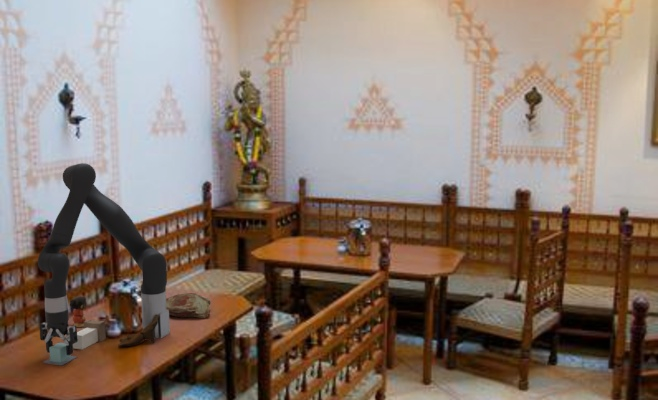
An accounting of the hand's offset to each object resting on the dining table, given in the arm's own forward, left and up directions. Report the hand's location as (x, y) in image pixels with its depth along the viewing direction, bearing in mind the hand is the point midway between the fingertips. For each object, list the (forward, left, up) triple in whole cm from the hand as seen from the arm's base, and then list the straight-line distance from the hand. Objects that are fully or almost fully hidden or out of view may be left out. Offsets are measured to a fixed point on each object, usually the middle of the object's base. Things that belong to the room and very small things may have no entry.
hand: (59, 353), depth 251 cm
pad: (0, 0, -3) cm, 3 cm away
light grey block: (+2, -17, -3) cm, 17 cm away
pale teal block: (0, 0, -2) cm, 2 cm away
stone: (-15, -60, -3) cm, 62 cm away
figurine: (+18, -33, -3) cm, 37 cm away
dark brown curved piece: (-17, -22, -3) cm, 28 cm away
